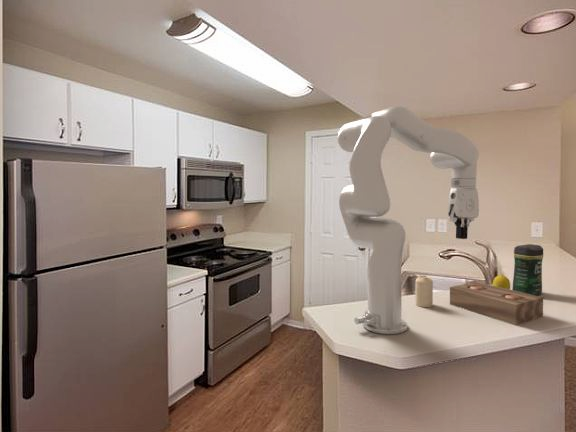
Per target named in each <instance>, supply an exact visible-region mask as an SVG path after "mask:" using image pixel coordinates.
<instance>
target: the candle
mask: <svg viewBox="0 0 576 432" xmlns="http://www.w3.org/2000/svg"><path fill="white" fill-rule="evenodd" d="M433 287H434V281H433V280H432V279H431V278H430V277H429V276H427V275H420V276H418V277H417V278H416V279H415V305H416V306H417V307H421V308H431V307H433V302H434V299H433V297H434V295H433V289H434V288H433Z"/></svg>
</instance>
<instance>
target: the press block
mask: <svg viewBox="0 0 576 432" xmlns="http://www.w3.org/2000/svg"><path fill="white" fill-rule="evenodd" d="M471 286H478V287H482V288H483V290H475V289H471V288H470V287H471ZM506 295H515V296H519V297H520V298H521V299H519V300H514V299H510V298H506V297H505V296H506ZM449 305H451V306H454V307H457V308H460V307H461V308H460V309H463V308H464V309H463V310H466V309H467V310H466V311H469V310H470V311H469V312H473V313H476V314H479V315H481V316H486V317H488V318H491V319H495V320H498V321H501V322H504V323H506V324H507V323H508V324H510V325H514V326H517V325H520V324H525V323H527V322H531V321H533V320H536V319H537V320H538V319H539V318H542V317H544V297H542V296H539V295H531V294H527V293H522V292H518V291H514V290H512V289H510V290H509V289H505V288H501V287H497V286H493V284H492V285H491V284H487V283H483V282H479V281H474V282H469V283H463V284H459V285H453V286H449Z"/></svg>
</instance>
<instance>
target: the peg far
mask: <svg viewBox="0 0 576 432" xmlns="http://www.w3.org/2000/svg"><path fill="white" fill-rule="evenodd" d="M470 288H471V289H475V290H483V288H482V287H478V286H471V287H470Z"/></svg>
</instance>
